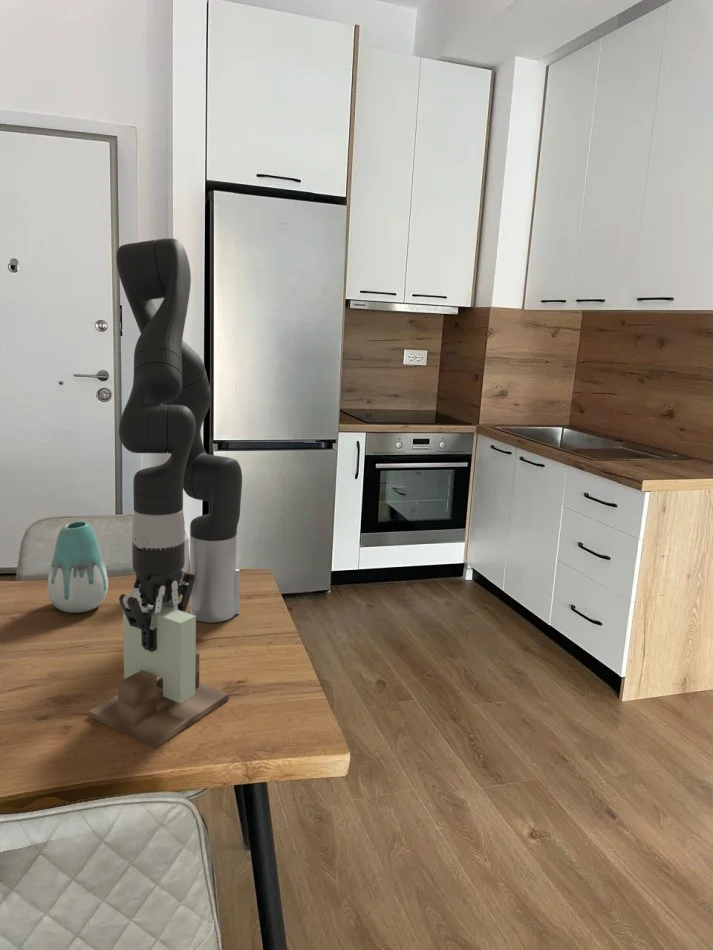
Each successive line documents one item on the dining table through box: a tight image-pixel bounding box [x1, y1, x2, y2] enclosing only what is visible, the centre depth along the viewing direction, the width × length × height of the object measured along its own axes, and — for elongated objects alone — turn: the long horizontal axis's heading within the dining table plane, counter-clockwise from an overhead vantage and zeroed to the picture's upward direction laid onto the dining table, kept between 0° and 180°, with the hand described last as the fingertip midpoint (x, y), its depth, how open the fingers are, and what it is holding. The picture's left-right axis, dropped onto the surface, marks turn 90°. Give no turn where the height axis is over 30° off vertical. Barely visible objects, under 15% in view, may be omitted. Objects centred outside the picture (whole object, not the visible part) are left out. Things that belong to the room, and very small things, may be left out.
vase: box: [46, 520, 109, 614], centre depth 146 cm, size 12×12×18 cm
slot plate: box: [88, 651, 230, 749], centre depth 112 cm, size 16×14×7 cm
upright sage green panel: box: [122, 597, 197, 704], centre depth 110 cm, size 3×12×13 cm, turn 60°
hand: (159, 644), depth 110 cm, fingers closed on upright sage green panel, 3 cm apart
